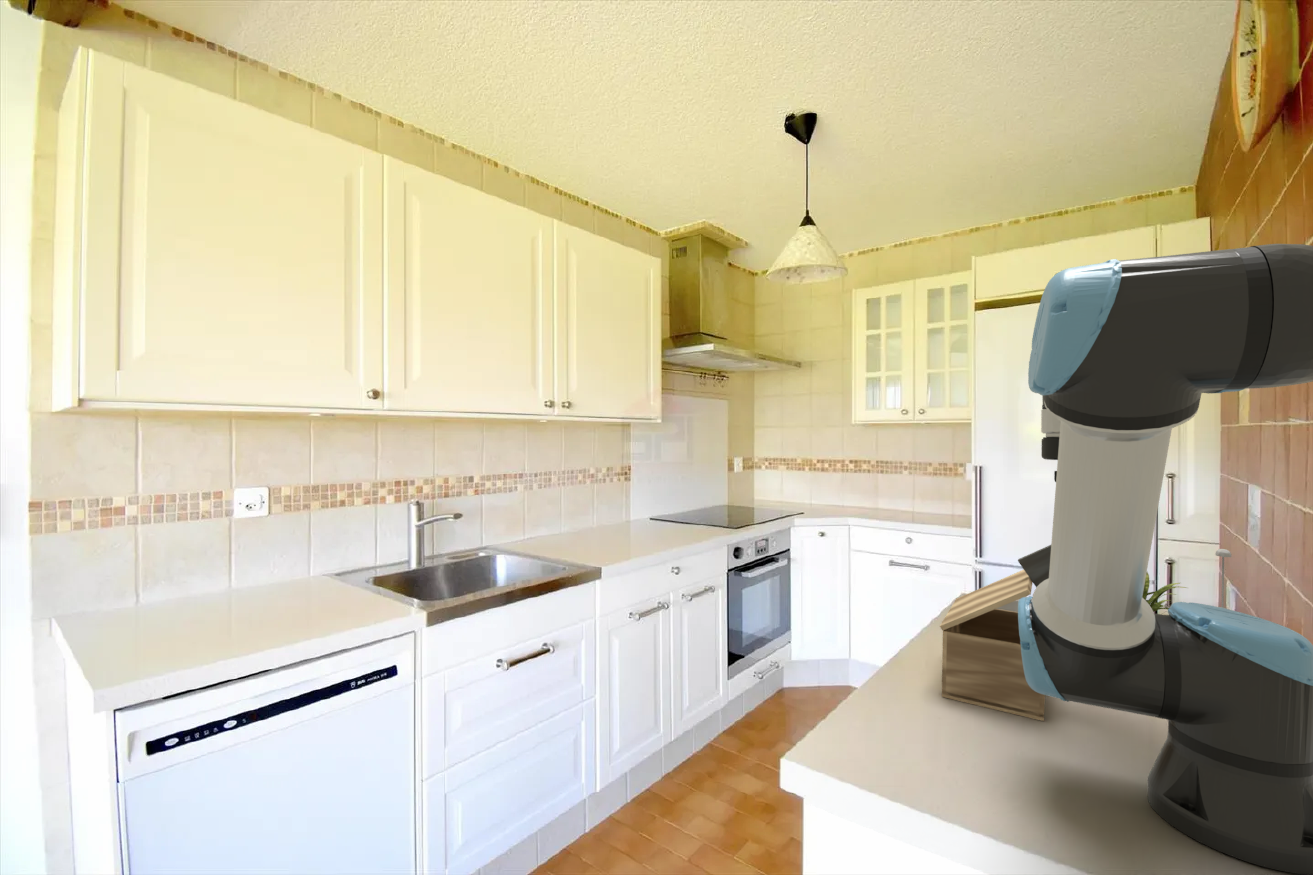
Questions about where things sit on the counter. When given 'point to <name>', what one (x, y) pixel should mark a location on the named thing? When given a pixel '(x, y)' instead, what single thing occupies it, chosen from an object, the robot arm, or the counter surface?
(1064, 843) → the counter surface
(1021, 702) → the wooden box
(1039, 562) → the wooden box lid
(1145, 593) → the house plant
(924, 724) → the counter surface
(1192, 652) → the robot arm
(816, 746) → the counter surface
